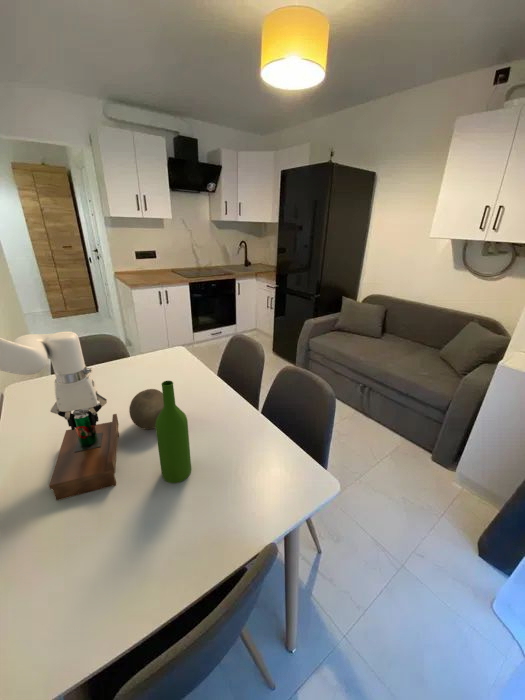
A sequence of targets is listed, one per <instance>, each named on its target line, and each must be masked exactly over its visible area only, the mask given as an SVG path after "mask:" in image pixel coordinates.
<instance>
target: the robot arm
mask: <svg viewBox="0 0 525 700" xmlns="http://www.w3.org/2000/svg"><path fill="white" fill-rule="evenodd" d="M84 358H85V357H84V354H83V350H82V346H81V342H80V337H79V335H78V334H77V333H76V332H73V331H69V330H68V331H57V332H54V333H48V334H47V333H29V334H23V335H19V336H18V337H16V338H15V339H14V340H13V341H11V340H8V339H5V338H3V337H0V371H1V372H6V373H9V374H13V375H17V376H34V375H36V374H39V373H41V372H42V371H43V370H44V369H45V368H46V367H47V365H48V361H49V360H50V362H51V365H52V368H53V369H52V370H53V372H54V376H55V379H54V395H55V402H54V403H53V405H52V407H51V408H50V410H49V411H50V413H52V414H55V415H58V416H60V417H62V418H63V419H64V420H65V421H67V425H68V428H69V427H70V429H72V430H74V429H75V425H74V421H73V418H72V415H73V412H74V410H80V409H86V408H88V409H89V410H90V412H91V419H92V423H93V426H96V425H97V423H98V422H99V415H98V412H99V411H100V410H101V409H102V407H104V406H105V405H107V402H108V399H107V398H105V397H104V396H102V395H100V394H99V393H98V390H97V387H96V384H95V381H94V378H93V376H92V374H91V373H93V368H92V367H87V365H86V363H85V359H84Z"/></svg>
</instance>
